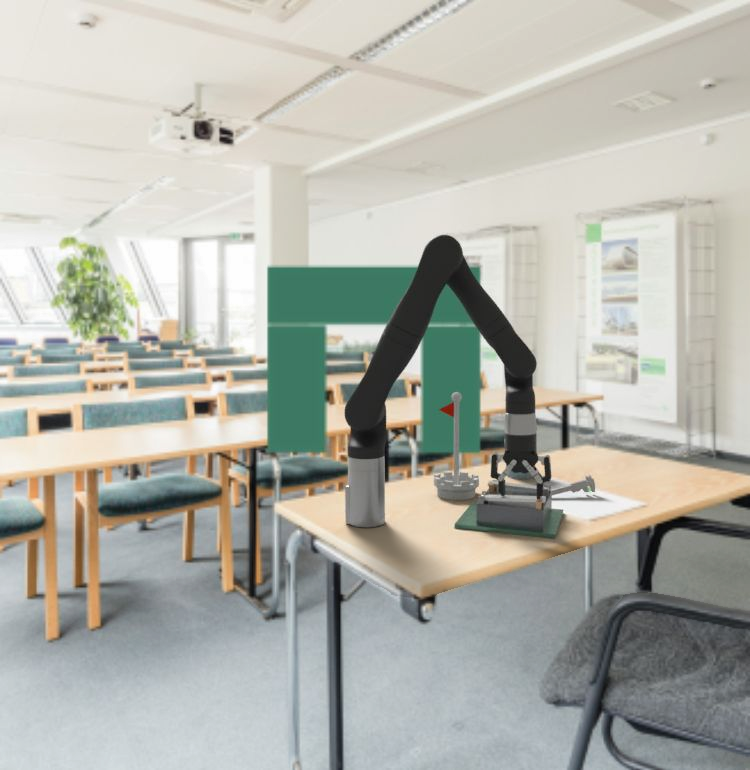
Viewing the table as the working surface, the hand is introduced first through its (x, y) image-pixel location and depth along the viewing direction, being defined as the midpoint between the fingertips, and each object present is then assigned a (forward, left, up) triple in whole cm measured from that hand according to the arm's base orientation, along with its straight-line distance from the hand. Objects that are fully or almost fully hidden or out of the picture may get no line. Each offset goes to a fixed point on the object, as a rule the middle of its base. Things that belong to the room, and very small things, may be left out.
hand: (520, 496), depth 165 cm
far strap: (-2, +12, -1) cm, 12 cm away
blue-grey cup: (-8, +53, -8) cm, 54 cm away
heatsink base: (-3, +5, -8) cm, 10 cm away
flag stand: (-22, +25, -8) cm, 34 cm away
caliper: (+7, +32, -8) cm, 33 cm away
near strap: (-2, 0, -1) cm, 2 cm away
